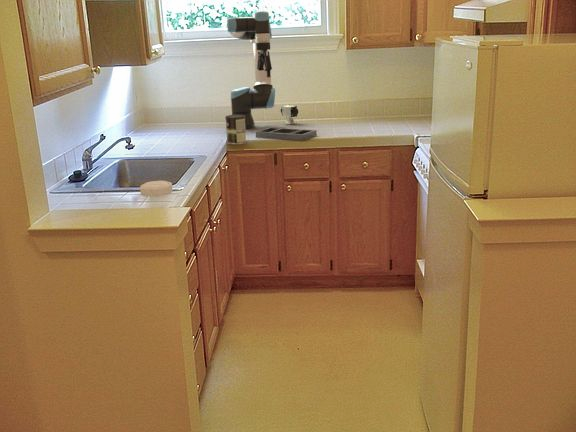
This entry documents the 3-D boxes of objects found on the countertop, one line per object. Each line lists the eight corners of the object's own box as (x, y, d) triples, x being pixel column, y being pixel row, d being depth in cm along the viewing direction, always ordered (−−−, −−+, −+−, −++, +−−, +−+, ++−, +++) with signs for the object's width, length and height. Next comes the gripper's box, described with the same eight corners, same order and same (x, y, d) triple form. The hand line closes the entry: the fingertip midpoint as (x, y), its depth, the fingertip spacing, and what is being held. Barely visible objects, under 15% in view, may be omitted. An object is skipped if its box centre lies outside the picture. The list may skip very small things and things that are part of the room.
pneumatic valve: (293, 125, 369) (292, 105, 365) (280, 123, 378) (280, 103, 374) (300, 124, 372) (299, 104, 369) (287, 122, 381) (286, 102, 377)
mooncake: (174, 187, 239) (173, 179, 238) (170, 196, 227) (169, 186, 226) (144, 189, 238) (143, 180, 237) (138, 197, 227) (136, 188, 226)
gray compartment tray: (255, 137, 336) (255, 131, 335) (270, 132, 348) (270, 127, 347) (303, 140, 321) (302, 135, 320) (316, 135, 333) (316, 130, 332)
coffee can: (227, 145, 317) (225, 117, 313) (227, 141, 327) (225, 115, 323) (247, 143, 318) (245, 116, 314) (246, 140, 328) (244, 114, 324)
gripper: (250, 43, 333) (252, 82, 338) (262, 41, 310) (264, 84, 315) (263, 42, 335) (265, 81, 341) (276, 41, 312) (278, 83, 318)
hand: (265, 83), depth 328 cm, fingers open, 13 cm apart
